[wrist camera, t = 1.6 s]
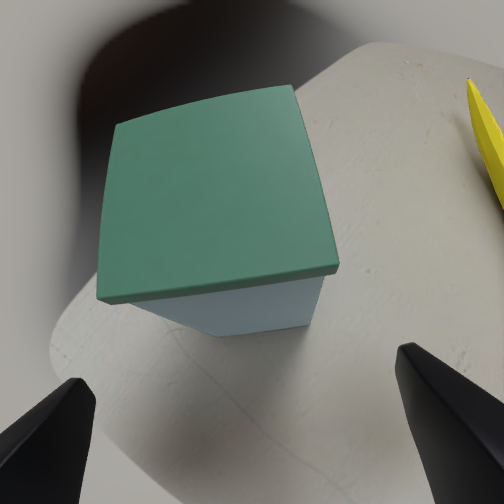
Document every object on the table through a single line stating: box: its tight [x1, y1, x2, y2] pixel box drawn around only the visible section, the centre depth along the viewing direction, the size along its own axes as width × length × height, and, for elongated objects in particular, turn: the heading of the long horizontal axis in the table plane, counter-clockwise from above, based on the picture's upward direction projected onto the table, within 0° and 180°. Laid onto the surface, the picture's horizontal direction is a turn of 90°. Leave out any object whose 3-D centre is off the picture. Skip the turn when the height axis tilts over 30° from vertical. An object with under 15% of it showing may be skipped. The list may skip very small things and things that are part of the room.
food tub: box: [96, 85, 340, 337], centre depth 15 cm, size 6×6×13 cm
